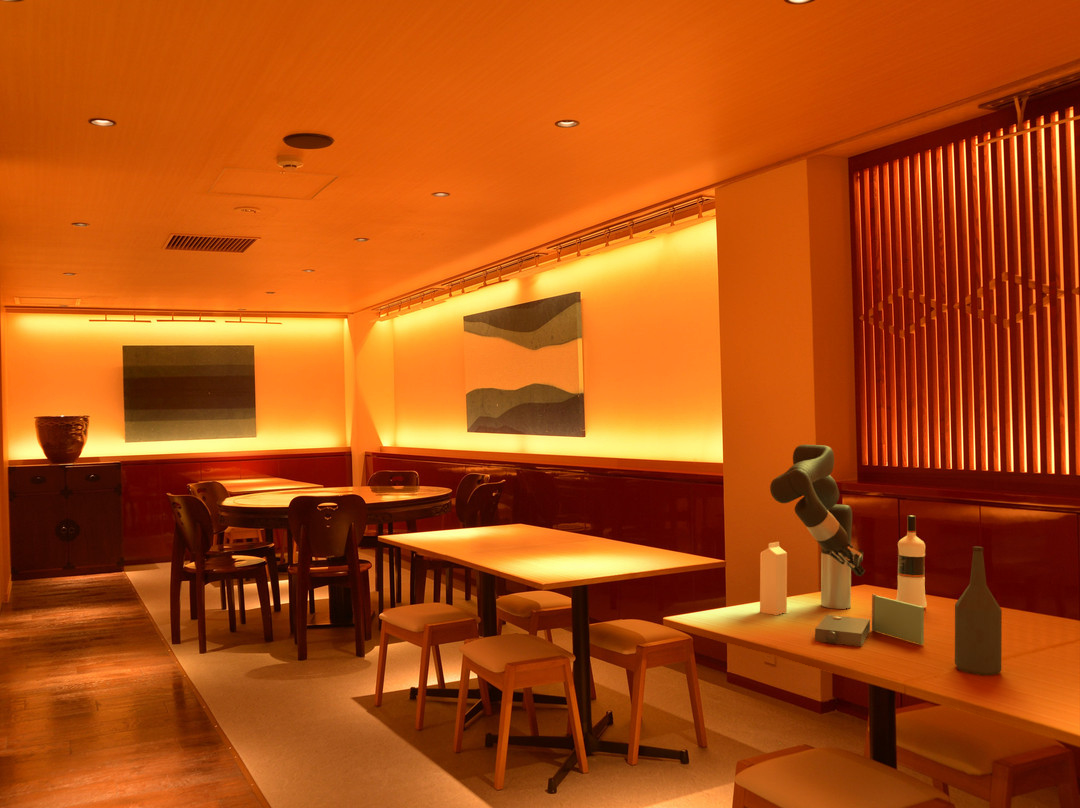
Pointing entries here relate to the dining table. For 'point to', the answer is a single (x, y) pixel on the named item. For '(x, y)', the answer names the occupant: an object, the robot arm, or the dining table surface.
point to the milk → (773, 580)
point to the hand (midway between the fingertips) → (861, 573)
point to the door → (898, 619)
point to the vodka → (911, 567)
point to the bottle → (978, 624)
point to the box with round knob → (842, 630)
